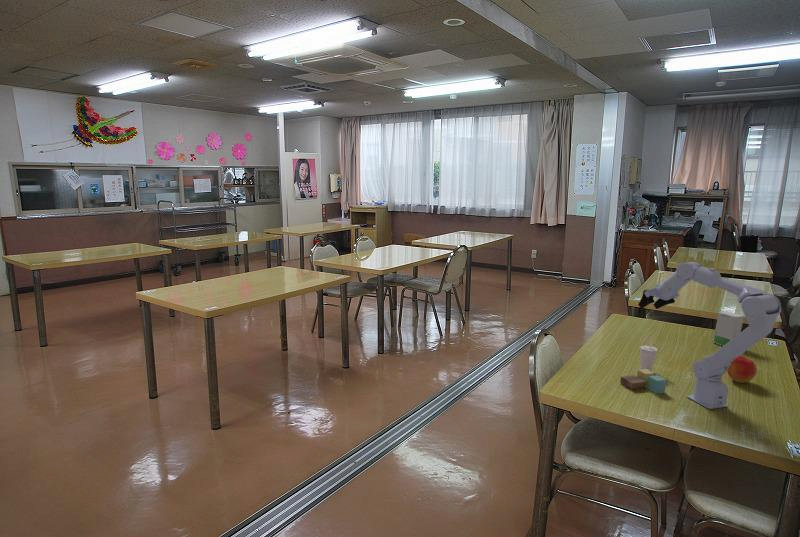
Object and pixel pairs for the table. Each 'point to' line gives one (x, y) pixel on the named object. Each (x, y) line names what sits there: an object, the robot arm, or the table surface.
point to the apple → (742, 369)
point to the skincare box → (727, 327)
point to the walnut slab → (633, 382)
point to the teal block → (656, 384)
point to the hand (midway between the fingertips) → (647, 306)
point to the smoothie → (648, 356)
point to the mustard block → (644, 375)
